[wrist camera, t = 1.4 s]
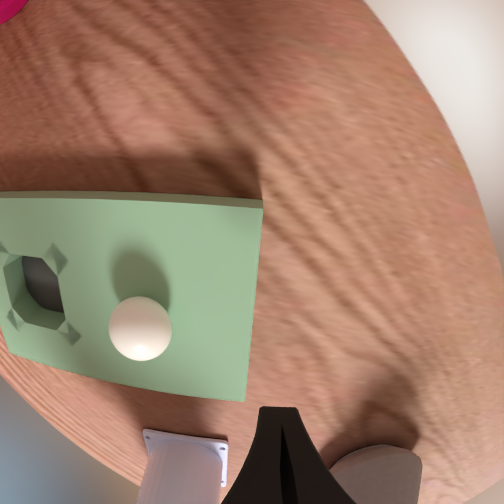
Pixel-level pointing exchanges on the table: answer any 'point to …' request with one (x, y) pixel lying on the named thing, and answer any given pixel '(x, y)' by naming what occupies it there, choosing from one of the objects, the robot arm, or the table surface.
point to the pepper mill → (10, 8)
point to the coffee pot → (380, 475)
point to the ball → (140, 328)
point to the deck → (132, 283)
